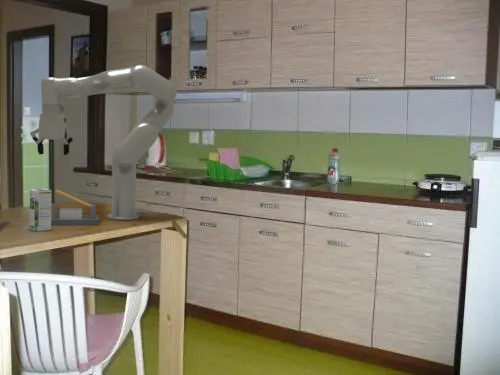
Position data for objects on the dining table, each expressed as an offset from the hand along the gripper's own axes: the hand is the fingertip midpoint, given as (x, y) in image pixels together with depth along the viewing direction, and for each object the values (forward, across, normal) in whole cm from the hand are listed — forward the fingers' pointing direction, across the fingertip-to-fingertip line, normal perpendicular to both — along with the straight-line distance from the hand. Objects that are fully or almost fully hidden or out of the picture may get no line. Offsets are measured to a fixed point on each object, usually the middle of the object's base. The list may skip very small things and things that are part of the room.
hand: (53, 154), depth 208 cm
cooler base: (+26, -9, +6) cm, 28 cm away
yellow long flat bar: (+17, -10, +6) cm, 21 cm away
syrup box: (+26, -2, +21) cm, 33 cm away
